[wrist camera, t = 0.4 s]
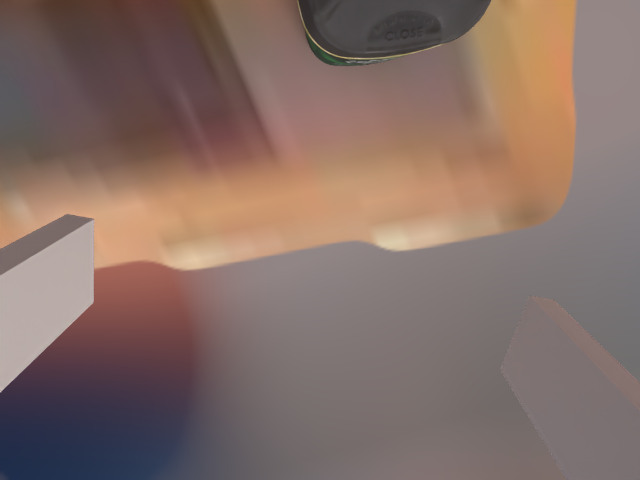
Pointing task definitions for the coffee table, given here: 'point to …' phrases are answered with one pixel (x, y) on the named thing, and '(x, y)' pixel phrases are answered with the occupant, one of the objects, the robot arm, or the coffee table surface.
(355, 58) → the coffee jar
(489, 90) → the coffee table surface
